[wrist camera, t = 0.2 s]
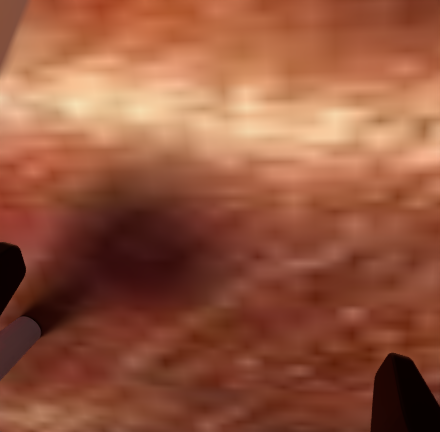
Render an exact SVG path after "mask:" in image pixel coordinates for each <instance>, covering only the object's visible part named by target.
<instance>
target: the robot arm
mask: <svg viewBox="0 0 440 432" xmlns="http://www.w3.org/2000/svg"><path fill="white" fill-rule="evenodd" d="M25 273H26V266H25V263H24V260H23V257H22V253H21V250H20V248H19V247H18V246H16V245H13V244H10V243H6V242H0V316H1V314H2V312H3V311H4V309H5V308H6V306H7V304H8V303H9V301H10V299H11V298H12V296H13V295H14V293H15V291H16V290H17V288H18V286H19V285H20V283H21V282H22V280H23V278H24V276H25ZM371 432H440V406H439V404H438V403H437V401H436V399H435V398H434V396H433V394H432V393H431V391H430V389H429V387H428V386H427V384H426V382H425V381H424V379H423V377H422V376H421V374H420V372H419V371H418V369H417V367H416V365H415V364H414V362H413V361H412V360H411V359H410V358H409V357H407V356H403V355H400V354H396V353H390V354H388V355H387V357H386V358H385V360H384V362H383V363H382V365H381V366H380V368H379V369H378V371H377V373H376V375H375V380H374V390H373V404H372V418H371Z"/></svg>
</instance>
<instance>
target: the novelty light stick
mask: <svg viewBox="0 0 440 432" xmlns="http://www.w3.org/2000/svg"><path fill="white" fill-rule="evenodd" d="M40 336H41V330H40V327H39V325H38V324H37V323H36V322H35V321H34V320H33V319H31V318H29V317H25V316H22V317H19V318H18V319H16V320H15V321H14V322H12V323H11V324H10V325H8V326H7V327H6V328H4V329H3V330H2V331H0V380H1V379H2V378H3V377H4V376H5V375H6V374H7V373H8V372H9V371H10V369H11V368H12V367H13V366H14V365H15V364H16V363H17V362H18V361H19V360H20V359H21V357H22V356H23V355H24V354H25V353H26V352H27V351H28V350H29V349H30V348H31V347H32V346H33V344H34V343H35V342H36V341H37V340H38V339H39V338H40Z"/></svg>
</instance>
